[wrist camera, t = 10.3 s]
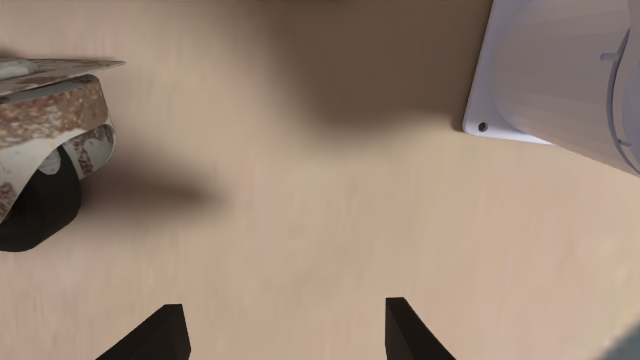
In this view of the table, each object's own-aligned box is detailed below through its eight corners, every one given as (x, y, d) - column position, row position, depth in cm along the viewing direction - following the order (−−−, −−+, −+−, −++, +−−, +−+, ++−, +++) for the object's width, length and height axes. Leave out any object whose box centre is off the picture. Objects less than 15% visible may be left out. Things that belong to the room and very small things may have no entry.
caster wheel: (22, 202, 25) (-51, 46, 20) (169, 221, 22) (126, 49, 18) (-99, 267, 19) (-241, 70, 14) (83, 303, 16) (-16, 80, 12)
